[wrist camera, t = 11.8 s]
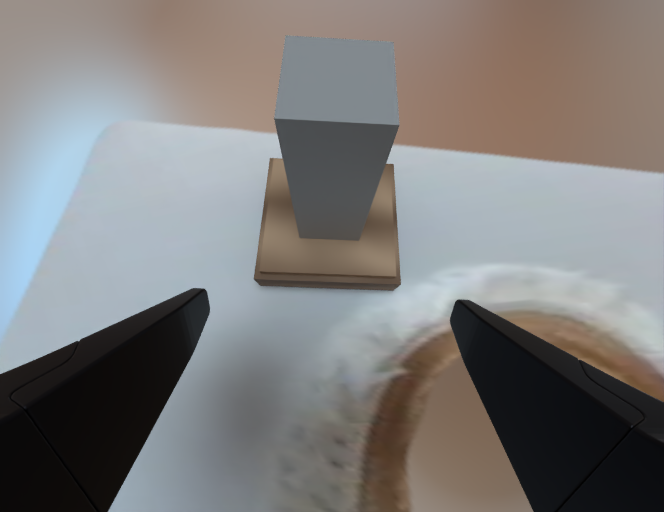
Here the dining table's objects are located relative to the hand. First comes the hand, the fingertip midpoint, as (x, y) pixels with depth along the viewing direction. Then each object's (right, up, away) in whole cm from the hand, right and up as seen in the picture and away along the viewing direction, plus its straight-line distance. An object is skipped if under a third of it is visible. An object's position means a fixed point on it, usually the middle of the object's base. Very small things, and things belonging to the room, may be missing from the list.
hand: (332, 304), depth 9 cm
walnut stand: (0, +5, +16) cm, 17 cm away
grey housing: (0, +6, +13) cm, 14 cm away
